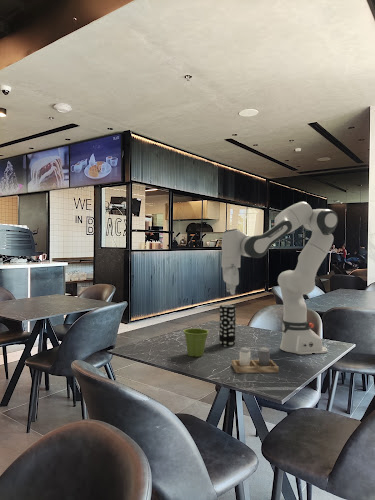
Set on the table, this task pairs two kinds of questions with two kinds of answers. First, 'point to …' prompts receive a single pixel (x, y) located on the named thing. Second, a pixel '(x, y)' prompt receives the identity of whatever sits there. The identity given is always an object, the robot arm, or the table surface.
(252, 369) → the caddy
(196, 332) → the plant pot
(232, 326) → the spotted tube
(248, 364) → the salt shaker
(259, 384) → the table surface
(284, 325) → the robot arm
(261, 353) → the pepper shaker
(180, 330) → the table surface
